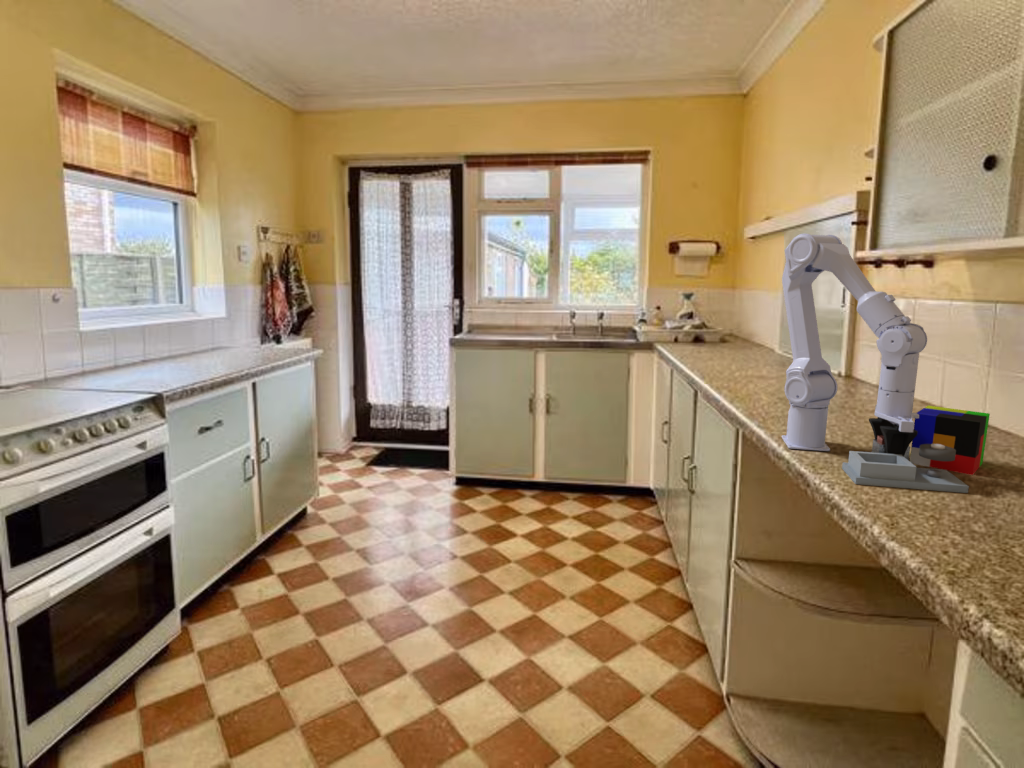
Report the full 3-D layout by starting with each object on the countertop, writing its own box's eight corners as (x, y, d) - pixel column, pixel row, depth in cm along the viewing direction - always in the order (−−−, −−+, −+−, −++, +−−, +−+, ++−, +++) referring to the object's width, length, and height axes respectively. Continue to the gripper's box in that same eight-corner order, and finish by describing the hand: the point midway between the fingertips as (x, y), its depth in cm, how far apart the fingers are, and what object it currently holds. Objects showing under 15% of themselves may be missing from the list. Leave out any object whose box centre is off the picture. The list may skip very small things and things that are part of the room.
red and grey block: (870, 464, 118) (873, 434, 116) (899, 466, 116) (903, 435, 115) (876, 470, 114) (880, 439, 113) (907, 472, 112) (910, 441, 111)
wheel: (914, 451, 109) (915, 440, 109) (947, 453, 108) (948, 442, 108) (925, 459, 104) (927, 448, 104) (960, 462, 103) (961, 450, 103)
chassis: (841, 468, 115) (843, 449, 114) (945, 476, 110) (947, 456, 110) (855, 484, 106) (857, 463, 105) (967, 493, 102) (970, 472, 101)
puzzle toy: (909, 463, 118) (915, 413, 116) (922, 452, 125) (928, 405, 123) (972, 475, 111) (980, 422, 109) (982, 463, 118) (989, 413, 116)
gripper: (937, 398, 105) (927, 473, 107) (906, 383, 119) (898, 450, 121) (891, 396, 107) (882, 470, 109) (866, 382, 120) (859, 448, 123)
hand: (888, 460), depth 115 cm, fingers open, 5 cm apart
